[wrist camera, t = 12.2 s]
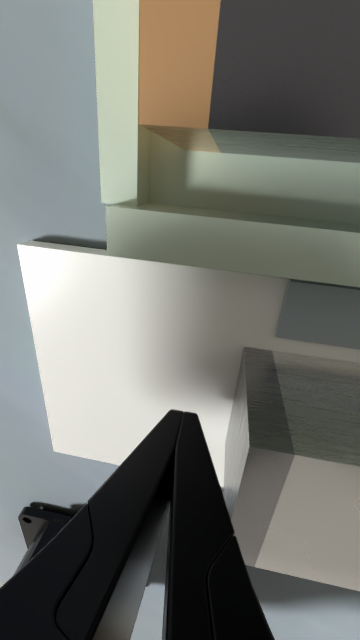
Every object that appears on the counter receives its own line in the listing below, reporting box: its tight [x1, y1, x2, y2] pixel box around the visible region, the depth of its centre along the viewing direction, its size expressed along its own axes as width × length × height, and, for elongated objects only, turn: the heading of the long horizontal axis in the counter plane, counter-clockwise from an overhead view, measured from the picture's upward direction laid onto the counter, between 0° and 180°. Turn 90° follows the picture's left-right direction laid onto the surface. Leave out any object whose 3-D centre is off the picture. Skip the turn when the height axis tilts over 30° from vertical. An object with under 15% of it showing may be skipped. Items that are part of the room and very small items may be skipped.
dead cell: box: [223, 347, 360, 591], centre depth 7 cm, size 4×6×4 cm, turn 86°
